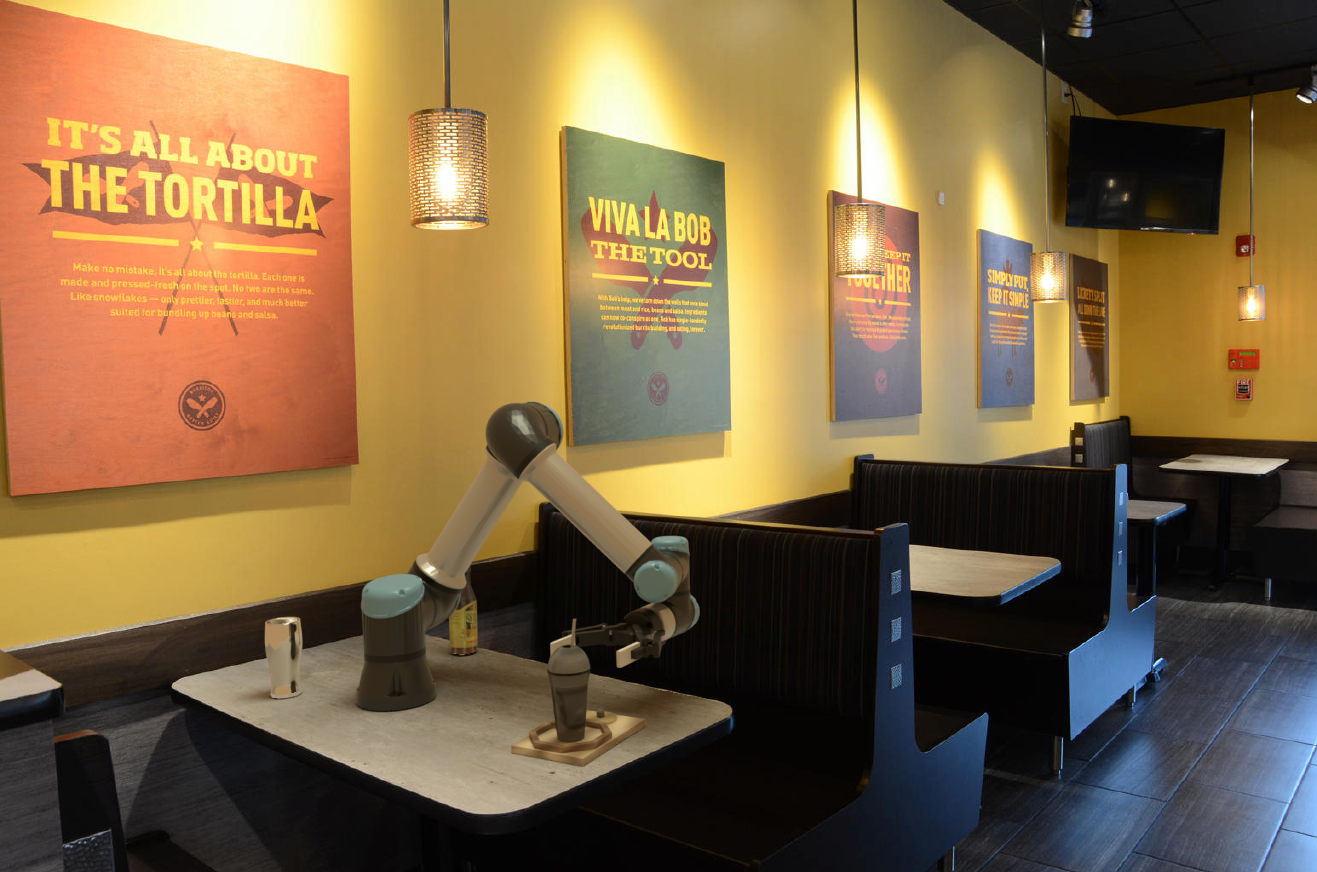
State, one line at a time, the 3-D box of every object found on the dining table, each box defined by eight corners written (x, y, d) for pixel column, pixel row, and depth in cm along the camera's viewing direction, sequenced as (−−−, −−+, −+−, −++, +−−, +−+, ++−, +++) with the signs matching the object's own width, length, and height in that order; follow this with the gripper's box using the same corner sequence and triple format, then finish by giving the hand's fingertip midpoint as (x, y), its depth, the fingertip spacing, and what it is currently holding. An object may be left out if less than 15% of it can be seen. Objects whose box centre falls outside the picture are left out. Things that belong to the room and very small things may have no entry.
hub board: (511, 752, 159) (510, 734, 159) (578, 715, 176) (578, 698, 176) (583, 766, 152) (582, 747, 152) (645, 725, 169) (644, 709, 169)
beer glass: (259, 698, 192) (256, 623, 191) (285, 687, 198) (281, 615, 197) (287, 701, 189) (283, 625, 188) (312, 691, 196) (308, 617, 195)
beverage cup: (549, 731, 165) (545, 614, 164) (592, 728, 165) (589, 613, 164) (548, 746, 157) (544, 625, 157) (593, 744, 158) (589, 623, 157)
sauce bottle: (471, 656, 218) (468, 569, 217) (445, 656, 219) (442, 569, 218) (482, 649, 224) (479, 564, 223) (457, 648, 225) (454, 564, 224)
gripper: (706, 653, 177) (648, 685, 159) (593, 639, 190) (526, 668, 171) (705, 612, 177) (647, 640, 158) (591, 601, 189) (525, 626, 171)
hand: (584, 655), depth 165 cm, fingers open, 13 cm apart
